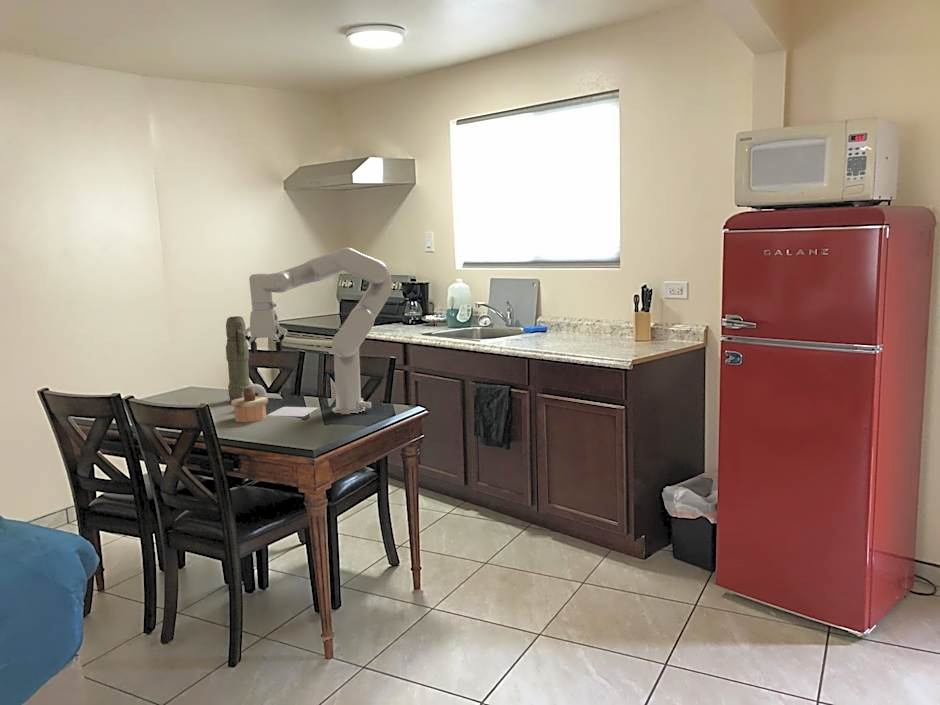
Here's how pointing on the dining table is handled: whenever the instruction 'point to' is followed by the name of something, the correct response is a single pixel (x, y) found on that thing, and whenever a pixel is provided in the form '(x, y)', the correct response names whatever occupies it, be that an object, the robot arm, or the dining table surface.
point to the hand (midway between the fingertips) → (266, 352)
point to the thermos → (237, 357)
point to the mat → (293, 411)
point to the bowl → (250, 413)
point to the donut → (257, 390)
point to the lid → (249, 399)
